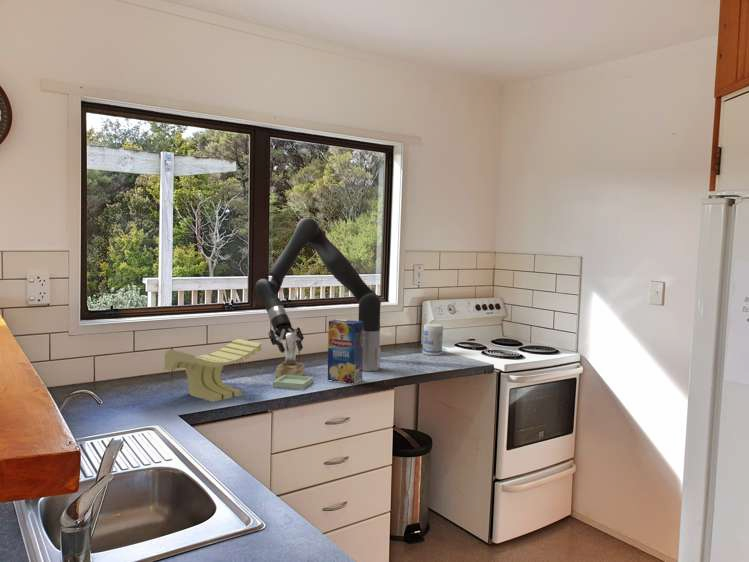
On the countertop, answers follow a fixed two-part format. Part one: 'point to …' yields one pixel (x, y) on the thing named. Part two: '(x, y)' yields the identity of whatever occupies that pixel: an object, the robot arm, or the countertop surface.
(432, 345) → the supplement tub
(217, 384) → the slatted curved stool
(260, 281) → the robot arm
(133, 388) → the countertop surface
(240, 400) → the countertop surface
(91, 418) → the countertop surface
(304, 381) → the tray
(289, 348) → the translucent grey cylinder
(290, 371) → the bracket block
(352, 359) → the juice carton
